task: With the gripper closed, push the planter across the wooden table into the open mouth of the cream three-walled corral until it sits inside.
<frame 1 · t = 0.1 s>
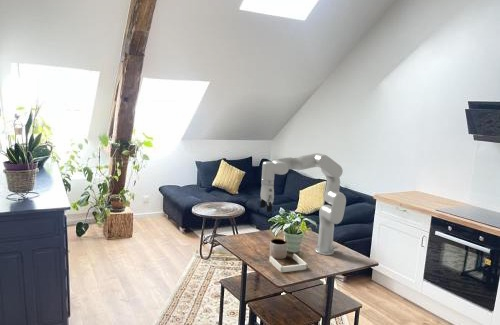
hand: (265, 209, 224), 31 cm above the table, fingers open, 9 cm apart
corral: (287, 264, 221), on the table
planter: (277, 256, 233), on the table
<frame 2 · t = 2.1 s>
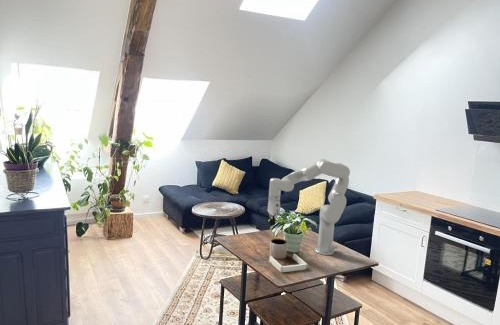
hand: (272, 224, 240), 17 cm above the table, fingers closed
nothing on the table moved.
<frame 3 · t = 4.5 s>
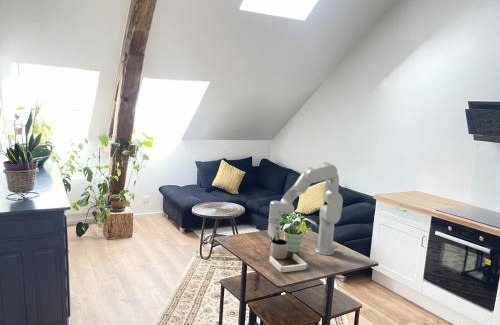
hand: (272, 247, 240), 3 cm above the table, fingers closed
planter: (278, 256, 233), on the table, touching gripper
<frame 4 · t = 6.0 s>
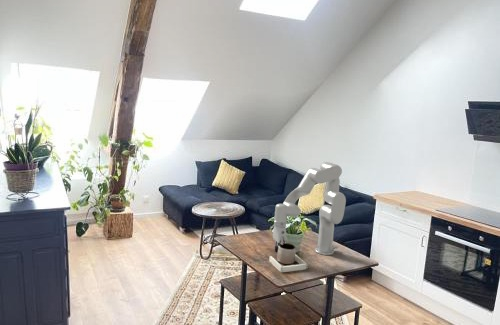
hand: (277, 251, 232), 3 cm above the table, fingers closed
planter: (285, 261, 226), on the table, touching gripper
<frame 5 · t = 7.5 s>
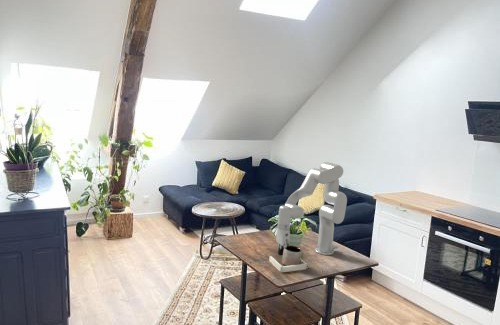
hand: (280, 254, 226), 3 cm above the table, fingers closed
planter: (290, 263, 222), on the table, touching corral, gripper
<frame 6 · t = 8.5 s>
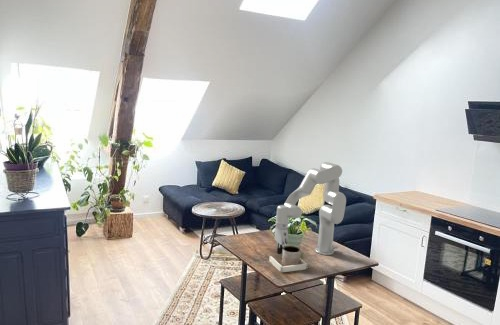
hand: (279, 253, 231), 3 cm above the table, fingers closed
planter: (290, 264, 222), on the table
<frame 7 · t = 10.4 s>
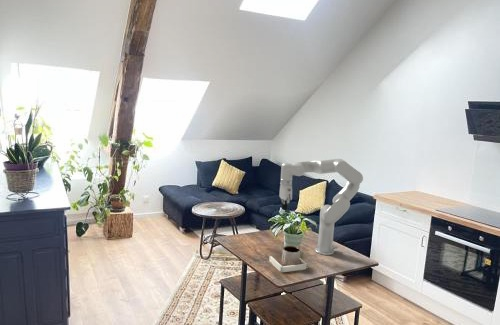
hand: (284, 209, 242), 27 cm above the table, fingers closed
nothing on the table moved.
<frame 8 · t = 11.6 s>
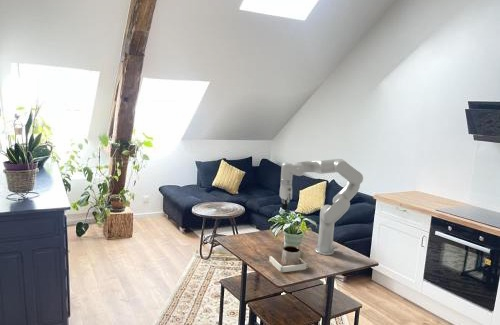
hand: (284, 209, 242), 27 cm above the table, fingers closed
nothing on the table moved.
at the end: planter 2.1 cm off-centre on the corral, point 0.0 cm above the corral's base; planter tilted 0° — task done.
